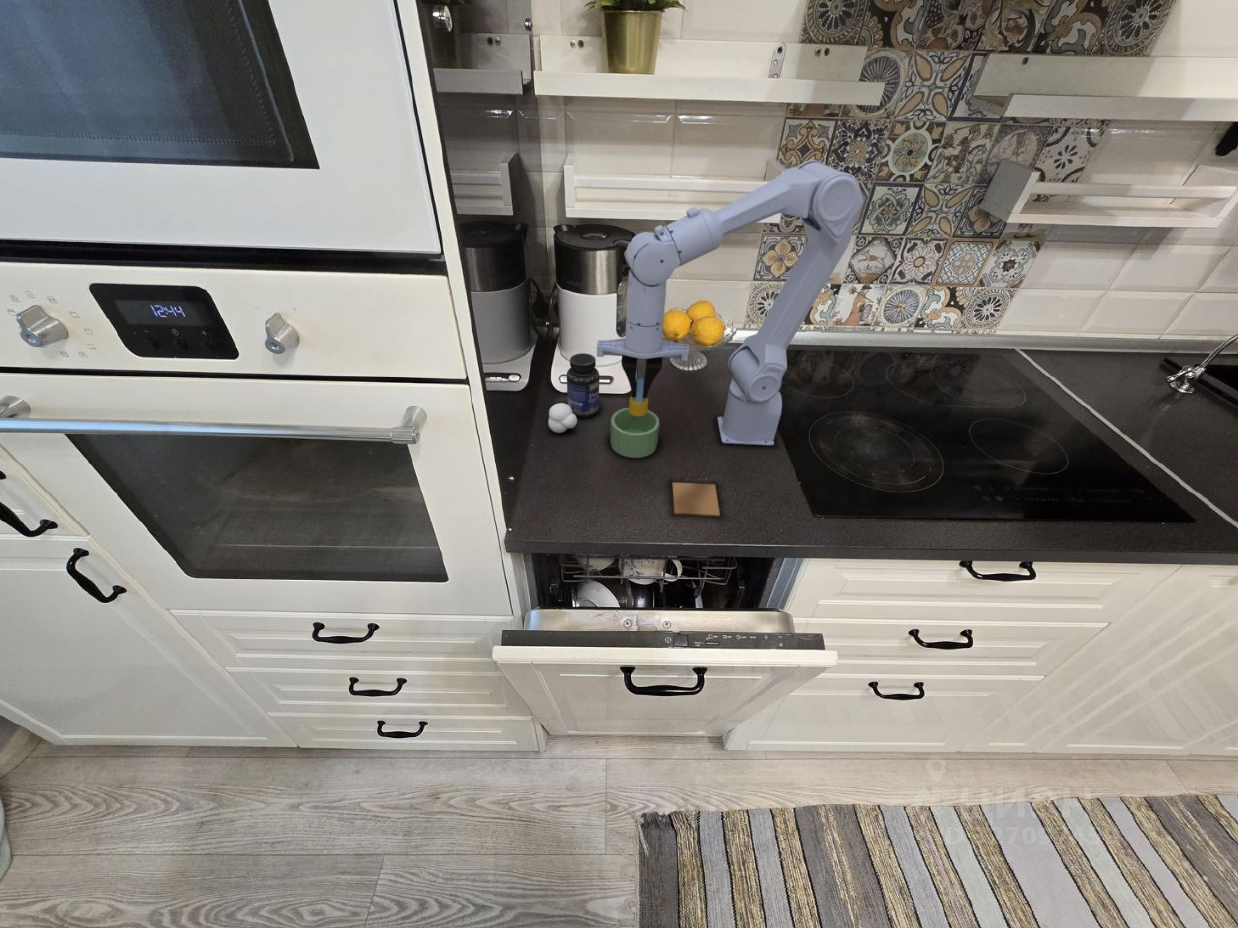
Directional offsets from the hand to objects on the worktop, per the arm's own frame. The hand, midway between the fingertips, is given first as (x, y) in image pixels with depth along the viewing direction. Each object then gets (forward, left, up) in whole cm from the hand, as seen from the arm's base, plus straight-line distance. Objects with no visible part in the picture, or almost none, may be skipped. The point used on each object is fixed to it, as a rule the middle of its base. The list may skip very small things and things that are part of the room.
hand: (639, 394), depth 87 cm
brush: (0, 0, -3) cm, 3 cm away
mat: (-10, +15, -10) cm, 20 cm away
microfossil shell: (+13, -2, -10) cm, 17 cm away
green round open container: (0, +1, -10) cm, 10 cm away
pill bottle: (+10, -9, -10) cm, 17 cm away
